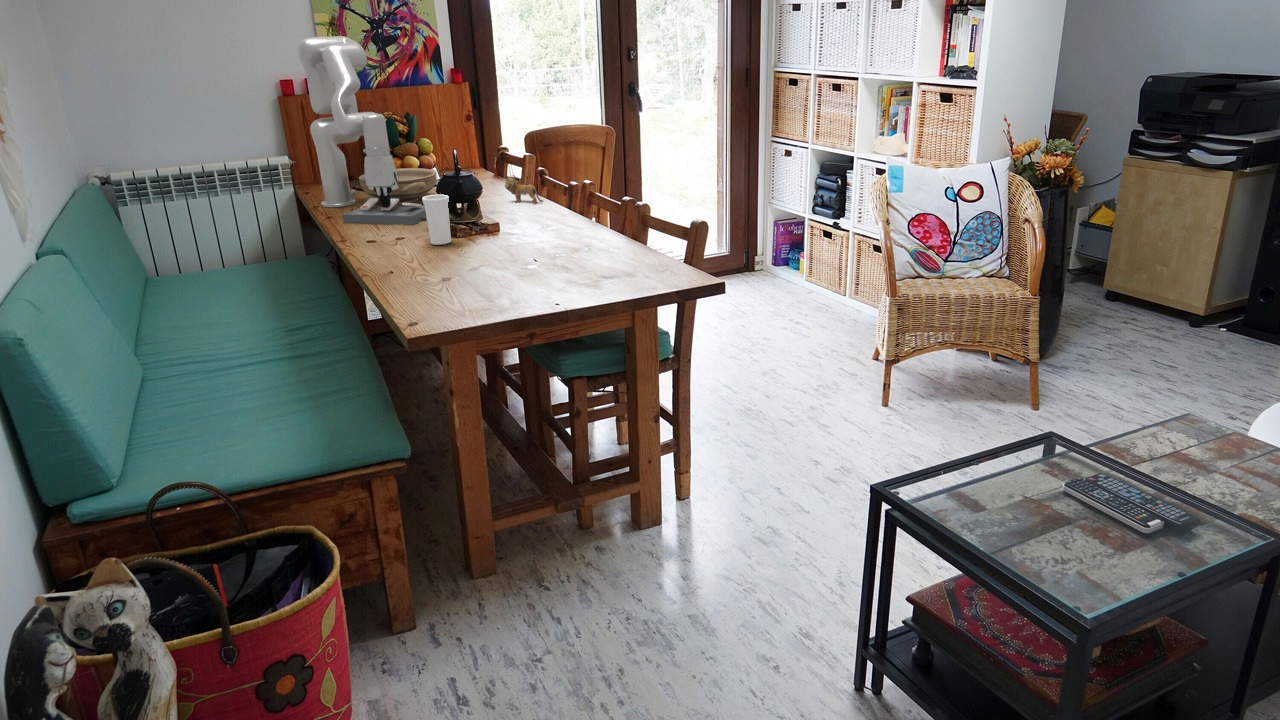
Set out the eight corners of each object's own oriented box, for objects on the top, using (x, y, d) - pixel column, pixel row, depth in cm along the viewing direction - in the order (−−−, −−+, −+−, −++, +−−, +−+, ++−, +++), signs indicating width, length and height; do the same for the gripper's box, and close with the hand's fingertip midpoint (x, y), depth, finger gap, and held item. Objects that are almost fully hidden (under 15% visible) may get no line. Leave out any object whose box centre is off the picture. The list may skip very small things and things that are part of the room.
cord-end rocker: (413, 206, 303) (413, 203, 303) (420, 206, 302) (420, 203, 302) (402, 205, 295) (402, 202, 295) (410, 205, 295) (410, 202, 295)
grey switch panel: (365, 214, 309) (364, 205, 308) (447, 216, 302) (446, 207, 301) (344, 223, 297) (342, 214, 296) (429, 225, 289) (428, 216, 288)
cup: (448, 246, 261) (442, 199, 256) (423, 246, 263) (417, 199, 258) (458, 240, 269) (453, 194, 263) (434, 239, 270) (428, 194, 265)
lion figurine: (503, 203, 320) (501, 178, 317) (510, 200, 325) (507, 176, 321) (540, 204, 316) (538, 179, 313) (546, 201, 321) (544, 177, 317)
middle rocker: (391, 200, 304) (390, 198, 303) (399, 200, 303) (398, 198, 303) (381, 210, 298) (380, 207, 297) (389, 210, 297) (388, 207, 297)
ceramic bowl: (346, 199, 336) (342, 173, 332) (415, 189, 352) (412, 164, 349) (384, 214, 309) (380, 185, 305) (457, 202, 325) (454, 175, 321)
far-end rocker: (370, 200, 306) (370, 197, 305) (378, 200, 305) (377, 197, 304) (360, 209, 300) (359, 207, 299) (368, 210, 299) (367, 207, 298)
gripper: (352, 153, 289) (360, 208, 296) (392, 153, 285) (400, 209, 292) (364, 150, 296) (372, 204, 302) (403, 150, 292) (411, 204, 299)
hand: (386, 206), depth 297 cm, fingers closed
